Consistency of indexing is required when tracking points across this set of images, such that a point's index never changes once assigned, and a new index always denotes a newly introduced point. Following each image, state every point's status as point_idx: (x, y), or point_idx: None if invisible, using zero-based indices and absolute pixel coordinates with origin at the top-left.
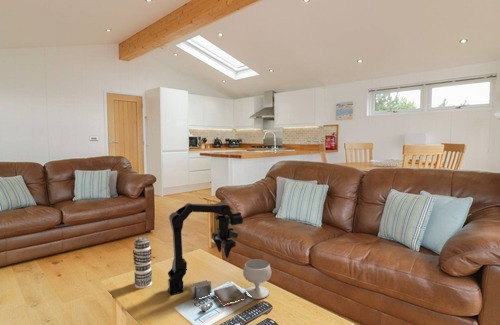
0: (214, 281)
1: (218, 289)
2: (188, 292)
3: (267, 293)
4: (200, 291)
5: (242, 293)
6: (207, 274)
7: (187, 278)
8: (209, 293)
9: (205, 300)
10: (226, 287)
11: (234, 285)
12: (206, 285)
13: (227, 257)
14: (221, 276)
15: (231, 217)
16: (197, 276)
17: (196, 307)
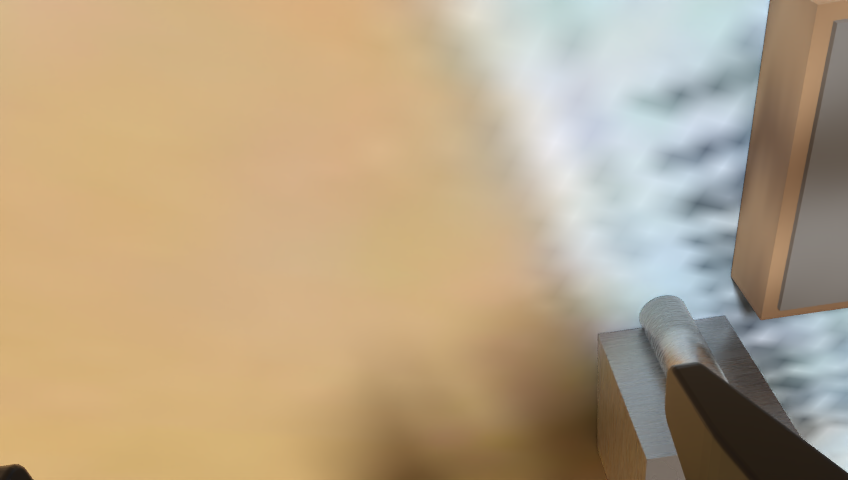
0: (369, 205)
1: (790, 275)
2: (513, 476)
3: None
4: None
5: None
6: (101, 256)
7: (179, 466)
8: (742, 353)
9: (766, 367)
10: (819, 162)
11: (838, 8)
12: None
13: (704, 382)
14: (224, 64)
15: None
16: (145, 374)
17: (822, 442)
